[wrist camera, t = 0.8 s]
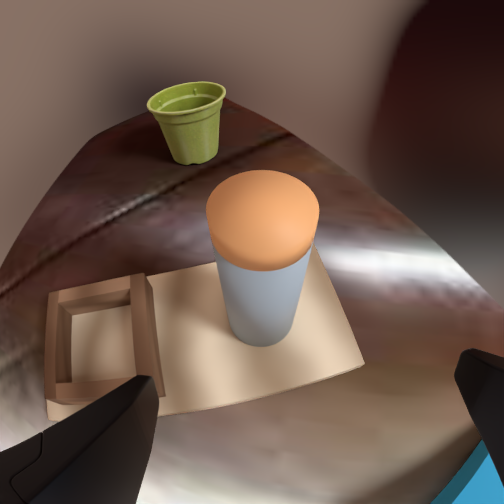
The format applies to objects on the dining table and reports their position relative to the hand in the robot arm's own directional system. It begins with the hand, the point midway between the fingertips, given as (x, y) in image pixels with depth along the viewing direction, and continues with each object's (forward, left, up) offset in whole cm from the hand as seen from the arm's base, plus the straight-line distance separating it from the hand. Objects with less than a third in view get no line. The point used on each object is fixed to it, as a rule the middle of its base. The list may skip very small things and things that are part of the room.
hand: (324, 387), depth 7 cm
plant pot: (+26, +20, -15) cm, 36 cm away
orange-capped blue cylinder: (+7, +4, -14) cm, 16 cm away
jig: (+3, +10, -15) cm, 18 cm away
